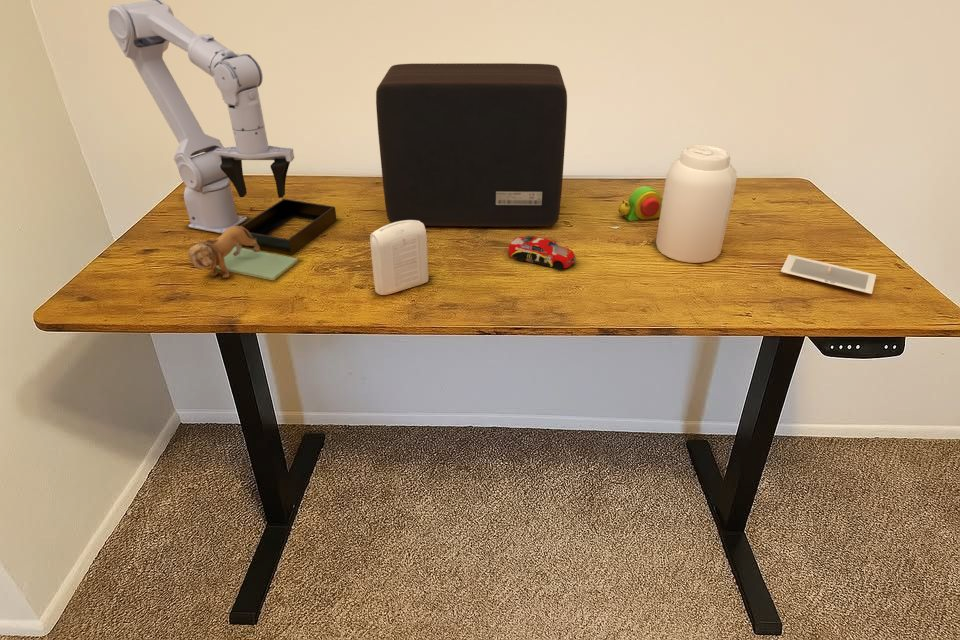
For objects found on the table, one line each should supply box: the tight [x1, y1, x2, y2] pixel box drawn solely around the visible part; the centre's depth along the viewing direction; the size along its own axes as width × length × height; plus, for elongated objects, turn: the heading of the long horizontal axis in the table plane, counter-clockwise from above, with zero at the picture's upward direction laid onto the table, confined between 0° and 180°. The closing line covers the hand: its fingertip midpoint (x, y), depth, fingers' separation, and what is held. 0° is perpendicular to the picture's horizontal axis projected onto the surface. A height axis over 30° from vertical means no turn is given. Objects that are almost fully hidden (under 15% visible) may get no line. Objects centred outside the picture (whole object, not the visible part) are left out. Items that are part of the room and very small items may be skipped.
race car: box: [507, 235, 576, 271], centre depth 124 cm, size 13×5×4 cm, turn 63°
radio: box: [375, 62, 568, 228], centre depth 135 cm, size 36×18×30 cm, turn 88°
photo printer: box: [369, 220, 429, 296], centre depth 114 cm, size 10×4×12 cm, turn 123°
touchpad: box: [780, 254, 877, 295], centre depth 118 cm, size 8×15×2 cm, turn 58°
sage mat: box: [216, 246, 299, 282], centre depth 125 cm, size 18×8×1 cm, turn 70°
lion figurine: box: [187, 225, 260, 279], centre depth 119 cm, size 15×5×9 cm, turn 156°
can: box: [655, 144, 738, 264], centre depth 123 cm, size 12×12×20 cm
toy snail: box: [618, 185, 662, 222], centre depth 141 cm, size 6×19×7 cm, turn 108°
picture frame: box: [241, 198, 338, 256], centre depth 135 cm, size 13×17×3 cm
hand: (262, 195), depth 127 cm, fingers open, 7 cm apart
